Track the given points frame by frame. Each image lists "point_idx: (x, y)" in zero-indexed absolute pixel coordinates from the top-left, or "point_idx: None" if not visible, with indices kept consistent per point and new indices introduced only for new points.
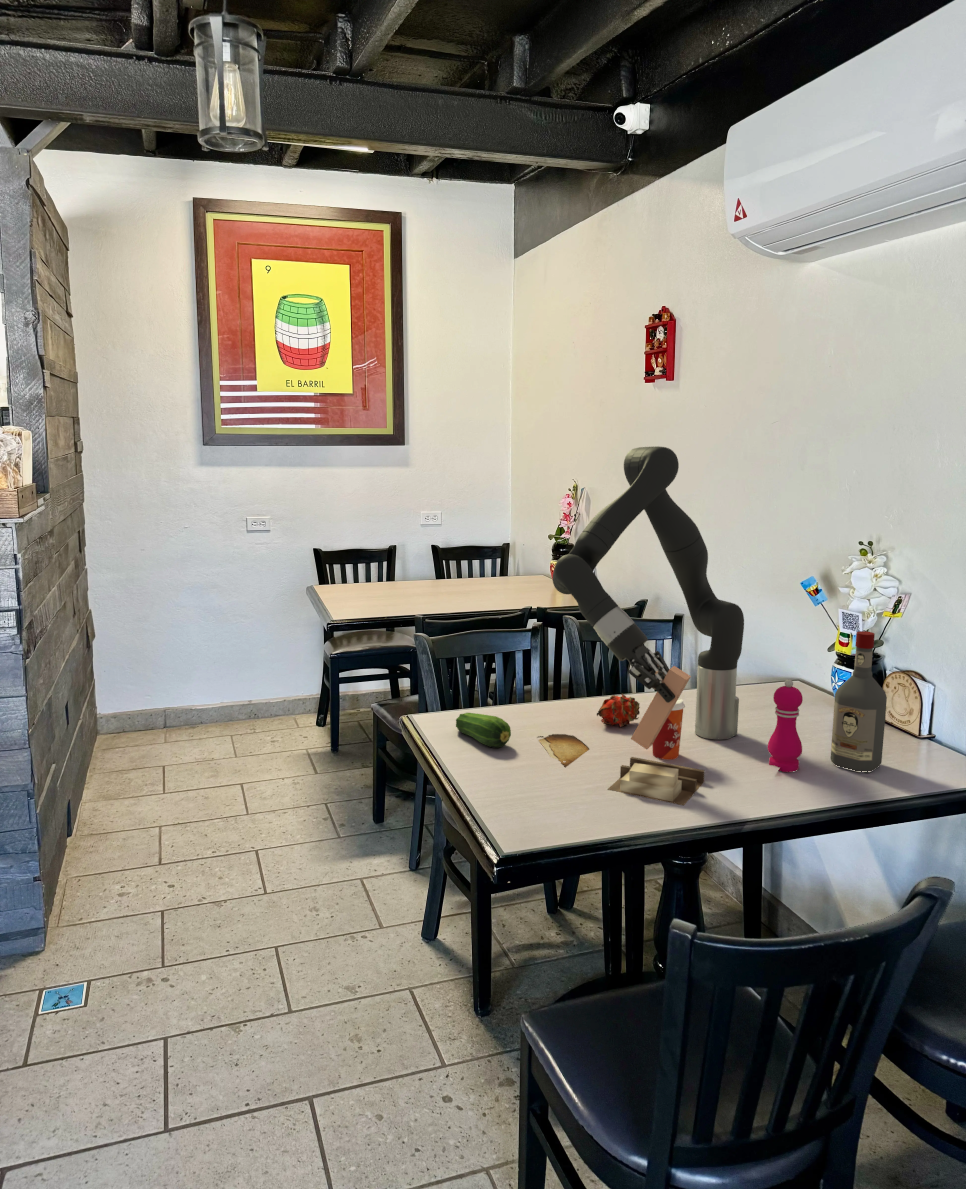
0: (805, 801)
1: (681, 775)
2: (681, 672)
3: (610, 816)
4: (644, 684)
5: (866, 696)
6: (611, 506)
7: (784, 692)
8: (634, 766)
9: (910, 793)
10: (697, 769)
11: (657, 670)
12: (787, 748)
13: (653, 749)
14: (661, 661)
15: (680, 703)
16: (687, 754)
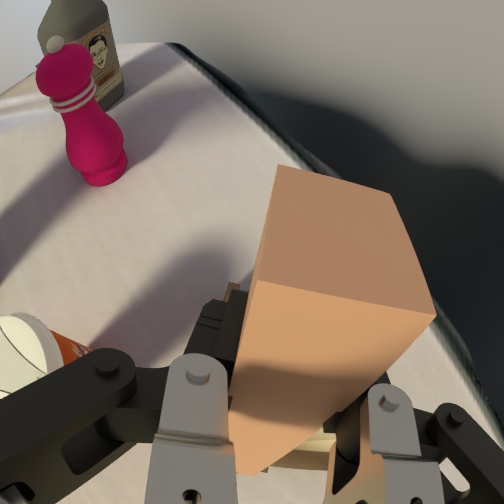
0: (244, 142)
1: None
2: (318, 214)
3: None
4: (442, 483)
5: (101, 4)
6: None
7: (74, 56)
8: (328, 435)
9: (183, 62)
10: (227, 298)
11: (395, 461)
12: (118, 133)
13: None
14: (26, 450)
15: (30, 325)
16: (59, 330)
